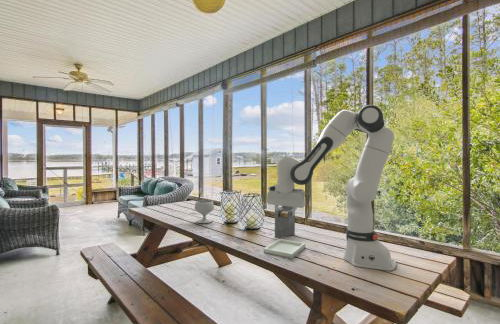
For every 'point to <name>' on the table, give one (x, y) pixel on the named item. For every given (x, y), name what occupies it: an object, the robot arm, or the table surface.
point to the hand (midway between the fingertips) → (285, 214)
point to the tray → (285, 248)
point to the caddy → (283, 219)
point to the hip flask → (284, 225)
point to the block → (284, 214)
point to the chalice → (204, 209)
